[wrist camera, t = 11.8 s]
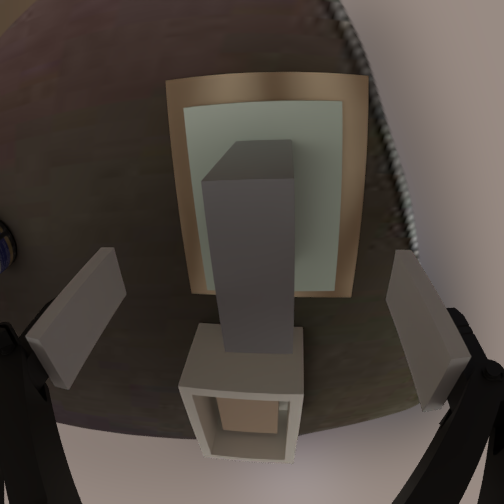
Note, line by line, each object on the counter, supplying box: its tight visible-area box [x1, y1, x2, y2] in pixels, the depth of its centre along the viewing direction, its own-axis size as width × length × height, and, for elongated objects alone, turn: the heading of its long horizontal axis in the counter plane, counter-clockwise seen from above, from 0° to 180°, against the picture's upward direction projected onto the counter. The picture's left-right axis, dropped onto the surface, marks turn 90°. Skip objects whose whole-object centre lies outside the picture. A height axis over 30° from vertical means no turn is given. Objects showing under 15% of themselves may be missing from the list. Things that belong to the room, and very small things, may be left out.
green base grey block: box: [183, 100, 342, 354], centre depth 19 cm, size 10×14×11 cm
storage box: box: [178, 323, 304, 464], centre depth 31 cm, size 10×14×8 cm
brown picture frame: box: [166, 72, 368, 297], centre depth 24 cm, size 14×18×1 cm
